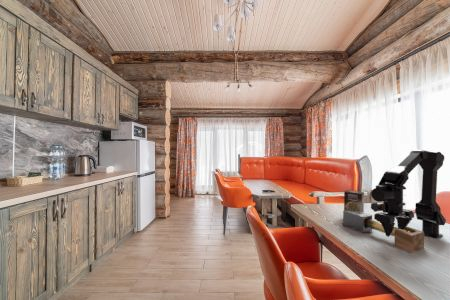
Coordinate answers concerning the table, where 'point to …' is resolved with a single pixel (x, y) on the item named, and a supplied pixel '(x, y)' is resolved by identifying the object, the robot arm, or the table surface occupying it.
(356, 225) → the sleeve
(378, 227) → the tube
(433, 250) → the table surface
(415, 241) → the socket cradle
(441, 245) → the table surface
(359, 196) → the coffee box
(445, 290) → the table surface
